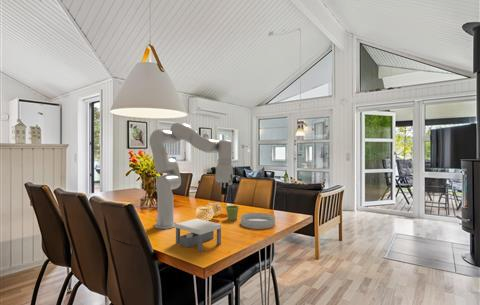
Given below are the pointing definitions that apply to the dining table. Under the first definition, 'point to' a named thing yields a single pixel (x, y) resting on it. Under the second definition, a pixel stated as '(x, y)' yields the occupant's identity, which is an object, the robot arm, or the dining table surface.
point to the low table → (198, 230)
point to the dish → (257, 220)
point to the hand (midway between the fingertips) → (224, 194)
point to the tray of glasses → (194, 238)
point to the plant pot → (232, 212)
